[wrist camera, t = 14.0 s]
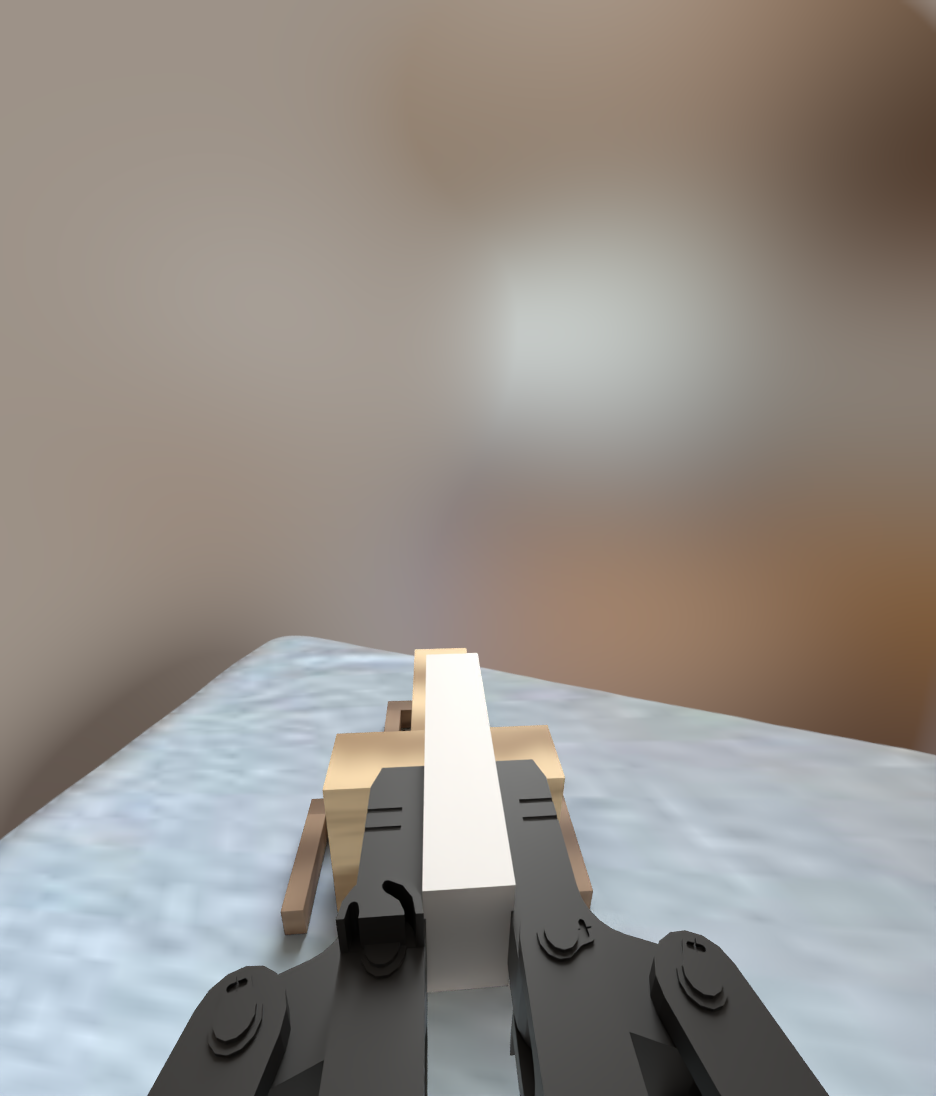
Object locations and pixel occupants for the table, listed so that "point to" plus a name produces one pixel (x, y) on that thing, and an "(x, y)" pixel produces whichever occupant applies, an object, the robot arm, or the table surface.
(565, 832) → the walnut T frame
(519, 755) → the oak T block
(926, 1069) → the table surface
